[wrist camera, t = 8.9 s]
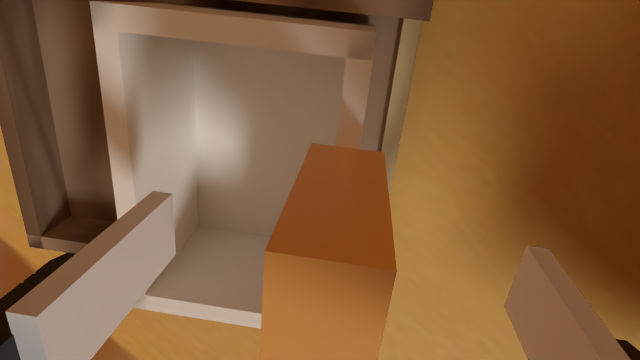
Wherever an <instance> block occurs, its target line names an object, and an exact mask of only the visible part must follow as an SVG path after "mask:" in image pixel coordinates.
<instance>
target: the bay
mask: <svg viewBox="0 0 640 360" xmlns="http://www.w3.org/2000/svg"><path fill="white" fill-rule="evenodd" d="M89 1H111V2H143V3H174V4H188V5H197V6H207V7H216V8H225V9H234V10H243V11H253V12H262V13H271V14H280V15H289V16H299V17H308V18H317V19H326V20H335V21H345V22H354V23H363V24H372V25H375V27H376V30H377V37H376V44H375V51H374V58H373V64H372V71H371V78H370V85H369V92H368V99H367V105H366V112H365V119H364V126H363V133H362V140H361V146H360V149H363V150H371V151H378V152H385V162H386V172H387V181H388V191H389V196H390V190H391V185H392V180H393V174H394V169H395V164H396V158H397V153H398V148H399V142H400V137H401V132H402V126H403V121H404V116H405V111H406V105H407V100H408V95H409V89H410V84H411V79H412V73H413V68H414V63H415V57H416V52H417V47H418V41H419V36H420V31H421V25H422V20H423V21H430V16H431V11H432V5H433V0H0V125H1V129H2V133H3V137H4V141H5V146H6V150H7V154H8V158H9V162H10V167H11V171H12V175H13V179H14V183H15V187H16V192H17V196H18V200H19V204H20V208H21V212H22V217H23V221H24V225H25V229H26V233H27V237H28V242H29V246H30V247H35V248H41V249H48V250H54V251H61V252H67V253H68V252H70V253H78V252H79V251H80V250H81V249H82V248H84V247H85V246H86V245H87V244H89V243H90V242H91V241H92V240H93V239H95V238H96V237H97V236H98V235H100V234H101V233H102V232H103V231H105V230H106V229H107V228H108V227H109V226H111V225H112V224H113V223H114V222H116V221H117V212H116V204H115V197H114V189H113V181H112V173H111V165H110V158H109V150H108V142H107V134H106V126H105V119H104V111H103V103H102V95H101V87H100V80H99V72H98V64H97V56H96V48H95V41H94V33H93V25H92V17H91V9H90V2H89Z"/></svg>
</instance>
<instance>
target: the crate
mask: <svg viewBox="0 0 640 360" xmlns="http://www.w3.org/2000/svg"><path fill="white" fill-rule="evenodd" d="M89 2H90V9H91V17H92V25H93V33H94V41H95V48H96V56H97V64H98V72H99V80H100V87H101V95H102V103H103V111H104V119H105V126H106V134H107V142H108V150H109V158H110V165H111V173H112V181H113V189H114V197H115V204H116V212H117V220H118V219H119V218H120V217H122V216H123V215H124V214H125V213H127V212H128V211H129V210H130V209H131V208H133V207H134V206H135V205H136V204H138V203H139V202H140V201H141V200H142V199H144V198H145V197H146V196H147V195H149V194H150V193H151V192H152V191H158V192H164V193H171V194H172V197H173V213H174V230H175V247H176V255H175V256H174V257H173V258H172V260H171V261H170V262H169V263H168V265H167V266H166V267H165V268H164V269H163V271H162V272H161V273H160V274H159V276H158V277H157V278H156V279H155V281H154V282H153V283H152V284H151V286H150V287H149V288H148V289H147V290H146V292H145V293H144V294H143V295H142V297H141V298H140V299H139V300H138V302H137V303H136V304H135V305H134V306H133V308H138V309H144V310H150V311H156V312H162V313H168V314H175V315H181V316H187V317H193V318H199V319H205V320H211V321H217V322H223V323H230V324H236V325H242V326H248V327H254V328H260V329H261V338H260V359H259V360H378V356H379V351H380V346H381V342H382V337H383V332H384V328H385V323H386V318H387V314H388V309H389V304H390V300H391V295H392V290H393V286H394V281H395V276H396V272H397V269H396V259H395V250H394V240H393V230H392V220H391V211H390V201H389V191H388V181H387V172H386V162H385V152H378V151H371V150H363V149H360V146H361V140H362V133H363V126H364V119H365V112H366V105H367V99H368V92H369V85H370V78H371V71H372V64H373V58H374V51H375V44H376V37H377V30H376V27H375V25H372V24H363V23H354V22H345V21H335V20H326V19H317V18H308V17H299V16H289V15H280V14H271V13H262V12H253V11H243V10H234V9H225V8H216V7H207V6H197V5H188V4H174V3H143V2H111V1H89Z"/></svg>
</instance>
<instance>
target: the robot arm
mask: <svg viewBox="0 0 640 360" xmlns="http://www.w3.org/2000/svg"><path fill="white" fill-rule="evenodd" d="M175 255H176V247H175V230H174V213H173V197H172V194H171V193H164V192H158V191H152V192H151V193H150V194H149V195H147V196H146V197H145V198H144V199H142V200H141V201H140V202H139V203H138V204H136V205H135V206H134V207H133V208H131V209H130V210H129V211H128V212H127V213H125V214H124V215H123V216H122V217H120V218H119V219H118V220H117V221H116V222H114V223H113V224H112V225H111V226H109V227H108V228H107V229H106V230H105V231H103V232H102V233H101V234H100V235H98V236H97V237H96V238H95V239H93V240H92V241H91V242H90V243H89V244H87V245H86V246H85V247H84V248H82V249H81V250H80V251H79V252H78V253H70V252H68V253H66V254H63V255H61V256H59V257H57V258H55V259H53V260H50V261H49V262H48V263H46V264H45V265H44V266H42V267H41V268H40V269H38V270H37V271H36V273H35V274H32V275H31V276H29V277H28V278H27V279H26V280H24V283H20V284H19V285H18V286H16V288H14V289H13V290H11V291H10V292H9V293H7V294H6V295H5V296H4V297H2V298H1V299H0V360H90V359H91V358H92V357H93V356H94V354H95V353H96V352H97V351H98V350H99V348H100V347H101V346H102V345H103V343H104V342H105V341H106V340H107V338H108V337H109V336H110V335H111V334H112V332H113V331H114V330H115V329H116V327H117V326H118V325H119V324H120V323H121V321H122V320H123V319H124V318H125V316H126V315H127V314H128V313H129V311H130V310H131V309H132V308H133V306H134V305H135V304H136V303H137V302H138V300H139V299H140V298H141V297H142V295H143V294H144V293H145V292H146V290H147V289H148V288H149V287H150V286H151V284H152V283H153V282H154V281H155V279H156V278H157V277H158V276H159V274H160V273H161V272H162V271H163V269H164V268H165V267H166V266H167V265H168V263H169V262H170V261H171V260H172V258H173V257H174V256H175ZM504 307H505V309H506V311H507V313H508V316H509V318H510V320H511V322H512V324H513V327H514V329H515V331H516V333H517V336H518V338H519V340H520V342H521V345H522V347H523V349H524V351H525V354H526V356H527V358H528V360H640V351H639V350H637V349H636V348H635V347H634V346H633V345H631V344H630V343H629V342H628V341H625V340H618V339H615V338H614V337H613V335H612V334H611V332H610V331H609V330H608V328H607V327H606V326H605V324H604V323H603V322H602V320H601V319H600V318H599V316H598V315H597V314H596V312H595V311H594V309H593V308H592V307H591V305H590V304H589V303H588V301H587V300H586V299H585V297H584V296H583V295H582V293H581V292H580V291H579V289H578V288H577V287H576V285H575V284H574V282H573V281H572V280H571V278H570V277H569V276H568V274H567V273H566V272H565V270H564V269H563V268H562V266H561V265H560V264H559V262H558V261H557V259H556V258H555V257H554V255H553V254H552V253H551V251H550V250H549V249H548V248H541V247H534V246H527V245H526V248H525V250H524V253H523V256H522V259H521V261H520V264H519V267H518V269H517V272H516V275H515V278H514V280H513V283H512V286H511V289H510V291H509V294H508V297H507V300H506V302H505V305H504Z"/></svg>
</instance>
